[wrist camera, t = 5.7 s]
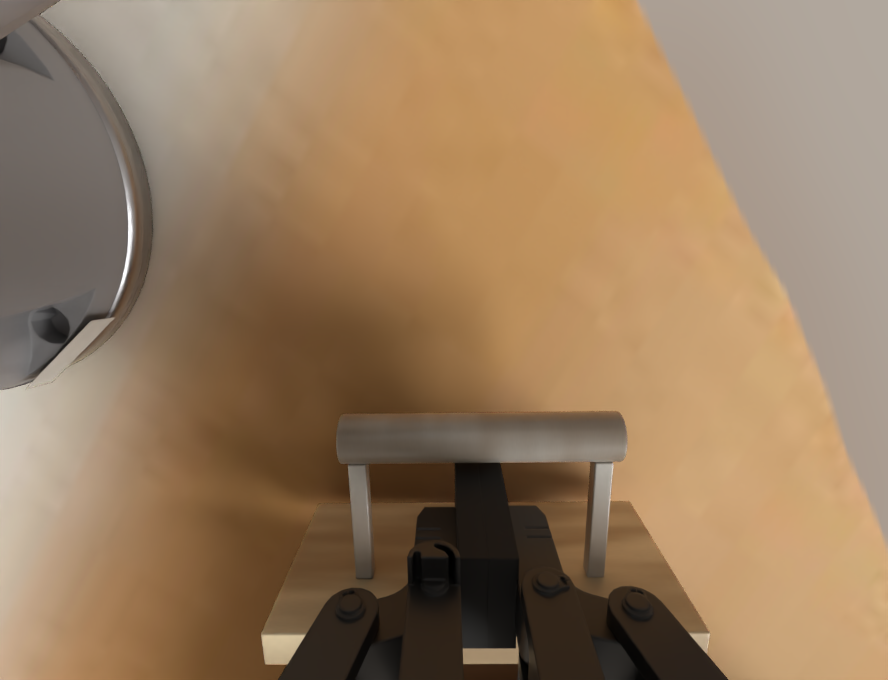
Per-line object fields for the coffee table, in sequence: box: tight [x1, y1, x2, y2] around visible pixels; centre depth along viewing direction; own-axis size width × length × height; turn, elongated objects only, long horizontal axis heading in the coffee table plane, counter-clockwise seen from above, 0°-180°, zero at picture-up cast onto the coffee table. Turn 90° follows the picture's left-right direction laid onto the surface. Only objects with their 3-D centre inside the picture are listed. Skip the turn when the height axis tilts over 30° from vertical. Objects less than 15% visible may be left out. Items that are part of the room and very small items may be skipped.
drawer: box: [261, 411, 710, 680], centre depth 20 cm, size 23×14×7 cm, turn 1°
